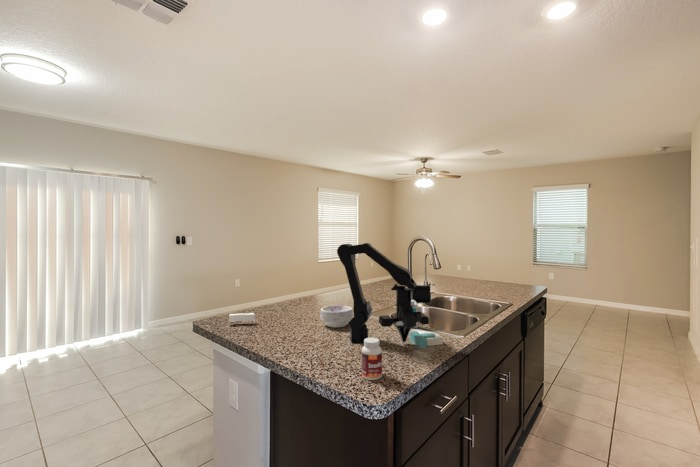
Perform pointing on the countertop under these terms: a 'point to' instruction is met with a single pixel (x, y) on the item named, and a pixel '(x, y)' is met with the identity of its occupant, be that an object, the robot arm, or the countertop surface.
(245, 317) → the napkin holder
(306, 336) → the countertop surface
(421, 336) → the t block
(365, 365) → the pill bottle
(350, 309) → the paper bowls
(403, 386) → the countertop surface
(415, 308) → the light bulb box
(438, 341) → the t dock
